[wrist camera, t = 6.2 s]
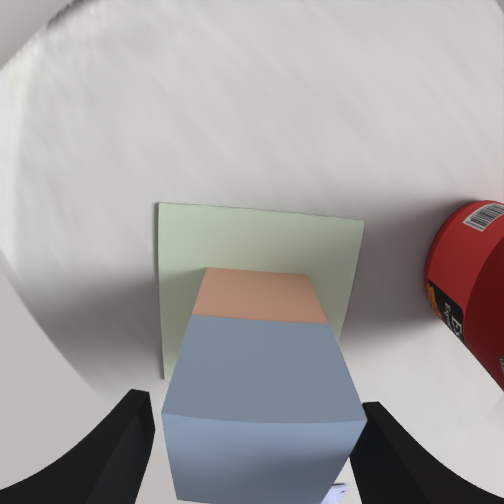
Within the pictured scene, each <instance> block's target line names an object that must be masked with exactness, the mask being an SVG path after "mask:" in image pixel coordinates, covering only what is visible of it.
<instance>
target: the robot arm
mask: <svg viewBox="0 0 504 504" xmlns="http://www.w3.org/2000/svg"><path fill="white" fill-rule="evenodd" d="M362 407H363V409H364V412H365V415H366V417H367V422H366V424H365V426H364V428H363V430H362V432H361V434H360V436H359V438H358V440H357V442H356V444H355V446H354V448H353V450H352V452H351V453H350V455H349V457H350V463H351V466H352V470H353V473H354V477H355V480H356V484H357V487H358V491H359V494H360V498H361V501H362V504H504V498H502V497H499V496H497V495H494V494H492V493H489V492H487V491H485V490H483V489H481V488H479V487H477V486H475V485H473V484H472V483H470V482H468V481H466V480H464V479H463V478H461V477H460V476H458V475H457V474H455V473H454V472H453V471H451V470H450V469H448V468H447V467H446V466H444V465H443V464H442V463H440V462H439V461H438V460H437V459H436V458H434V457H433V456H432V455H431V454H430V453H429V452H428V451H426V450H425V449H424V448H423V447H422V446H421V445H420V444H419V443H418V442H417V441H416V440H415V439H414V438H413V437H412V436H411V435H410V434H409V433H408V432H407V431H406V430H405V429H404V428H403V427H402V426H401V425H400V424H399V423H398V422H397V421H396V419H395V418H394V417H393V416H392V415H391V414H390V413H389V412H388V411H387V410H386V409H385V408H384V407H383V406H382V405H381V404H380V402H379V401H378V402H365V403H363V404H362ZM154 434H155V425H154V419H153V413H152V407H151V401H150V395H149V392H146V391H141V390H135V389H131V390H130V391H129V392H128V393H127V394H126V395H125V396H124V397H123V399H122V400H121V401H120V402H119V403H118V404H117V405H116V406H115V408H114V409H113V410H112V411H111V412H110V413H109V414H108V415H107V416H106V417H105V418H104V419H103V420H102V421H101V422H100V423H99V424H98V425H97V426H96V427H95V428H94V429H93V430H92V431H91V432H90V433H89V434H88V435H87V436H86V437H85V438H83V439H82V440H81V441H80V442H79V443H78V444H77V445H76V446H74V447H73V448H72V449H71V450H69V451H68V452H67V453H66V454H64V455H63V456H62V457H60V458H59V459H58V460H56V461H55V462H53V463H52V464H50V465H49V466H47V467H45V468H44V469H42V470H41V471H39V472H37V473H36V474H34V475H32V476H30V477H28V478H27V479H24V480H22V481H20V482H18V483H16V484H13V485H11V486H9V487H7V488H4V489H1V490H0V504H135V501H136V498H137V495H138V492H139V488H140V485H141V482H142V479H143V476H144V473H145V470H146V467H147V464H148V460H149V457H150V454H151V450H152V445H153V439H154ZM348 489H349V486H348V485H336V486H332V487H331V488H330V490H329V491H328V493H327V495H326V496H325V498H324V499H323V501H322V503H321V504H338V503H339V502H340V501H341V499H342V498H343V496H344V495H345V494H346V492H347V491H348Z"/></svg>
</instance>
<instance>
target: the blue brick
mask: <svg viewBox="0 0 504 504" xmlns="http://www.w3.org/2000/svg"><path fill="white" fill-rule="evenodd" d="M161 416H162V422H163V429H164V435H165V441H166V447H167V452H168V458H169V463H170V468H171V473H172V478H173V482H174V488H175V492H176V496H177V500H184V501H193V502H201V503H210V504H321V503H322V501H323V499H324V498H325V496H326V495H327V493H328V491H329V490H330V488H331V487H332V485H333V483H334V482H335V480H336V478H337V477H338V475H339V473H340V471H341V470H342V468H343V466H344V464H345V463H346V461H347V459H348V457H349V455H350V453H351V452H352V450H353V448H354V446H355V444H356V442H357V440H358V438H359V436H360V434H361V432H362V430H363V428H364V426H365V424H366V422H367V417H366V415H365V412H364V409H363V407H362V404H361V401H360V399H359V396H358V394H357V391H356V389H355V386H354V383H353V381H352V378H351V376H350V373H349V371H348V368H347V366H346V363H345V361H344V358H343V356H342V353H341V351H340V348H339V346H338V343H337V341H336V339H335V336H334V334H333V331H332V329H331V326H330V324H320V323H297V322H279V321H263V320H249V319H236V318H224V317H212V316H202V315H192V314H191V317H190V320H189V323H188V326H187V329H186V332H185V336H184V339H183V342H182V345H181V348H180V352H179V355H178V358H177V361H176V365H175V368H174V371H173V374H172V378H171V381H170V384H169V388H168V391H167V395H166V398H165V401H164V405H163V408H162V412H161Z"/></svg>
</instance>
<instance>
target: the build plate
mask: <svg viewBox="0 0 504 504" xmlns="http://www.w3.org/2000/svg"><path fill="white" fill-rule="evenodd" d="M364 225H365V221H363V220H355V219H347V218H338V217H329V216H320V215H311V214H301V213H291V212H281V211H270V210H259V209H248V208H236V207H223V206H210V205H196V204H181V203H164V202H160V203H159V217H158V267H159V302H160V323H161V340H162V354H163V366H164V377H165V382H167V383H170V381H171V378H172V374H173V371H174V368H175V365H176V361H177V358H178V355H179V352H180V348H181V345H182V342H183V339H184V336H185V332H186V329H187V326H188V323H189V320H190V317H191V314H192V312H193V309H194V306H195V303H196V300H197V297H198V294H199V291H200V287H201V284H202V281H203V278H204V275H205V272H206V269H207V267H214V268H226V269H238V270H250V271H262V272H275V273H288V274H302V275H308V276H309V279H310V281H311V283H312V286H313V288H314V291H315V293H316V295H317V298H318V300H319V302H320V305H321V307H322V309H323V312H324V314H325V317H326V319H327V322H328V324H330V326H331V329H332V331H333V334H334V336H335V339H336V341H337V343H339V339H340V335H341V331H342V328H343V324H344V320H345V316H346V312H347V307H348V303H349V299H350V295H351V290H352V286H353V281H354V277H355V272H356V267H357V262H358V258H359V252H360V247H361V242H362V237H363V231H364Z"/></svg>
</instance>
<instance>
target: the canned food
mask: <svg viewBox="0 0 504 504" xmlns="http://www.w3.org/2000/svg"><path fill="white" fill-rule="evenodd" d="M425 288H426V292H427V295H428V298H429V301H430V303H431V306H432V308H433V310H434V311H435V313H436V314H437V316H438V317H439V318H440V319H441V320H442V321H443V322H444V323H445V324H446V325H447V326H448V327H449V329H450V330H451V331H452V332H453V333H454V334H455V335H456V336H457V337H458V338H459V340H460V341H461V342H462V343H463V344H464V345H465V346H466V347H467V349H468V350H469V351H470V352H471V353H472V354H473V355H474V357H475V358H476V359H477V360H478V361H479V362H480V364H481V365H482V366H483V367H484V368H485V369H486V371H487V372H488V373H489V374H490V375H491V377H492V378H493V379H494V380H495V381H496V383H497V384H498V385H499V386H500V388H501V389H502V390H503V391H504V204H503V203H500V202H496V201H490V200H485V201H478V202H473V203H469V204H467V205H465V206H463V207H461V208H460V209H458V210H457V211H456V212H455V213H453V214H452V215H451V216H450V217H449V218H448V220H447V221H446V222H445V223H444V224H443V226H442V227H441V229H440V230H439V232H438V233H437V235H436V237H435V239H434V241H433V243H432V245H431V248H430V251H429V254H428V257H427V262H426V267H425Z"/></svg>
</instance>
